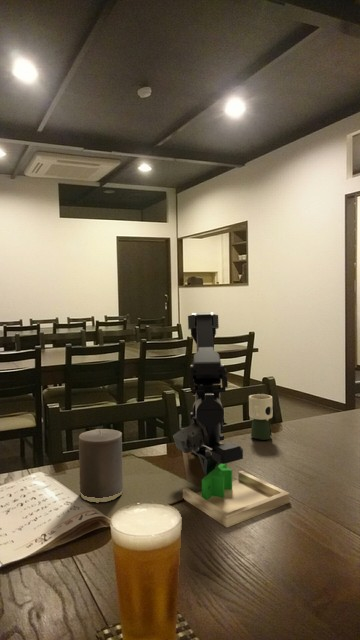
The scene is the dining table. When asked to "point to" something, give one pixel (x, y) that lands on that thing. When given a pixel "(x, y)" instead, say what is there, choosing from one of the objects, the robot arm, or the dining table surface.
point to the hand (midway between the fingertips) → (208, 479)
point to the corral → (240, 500)
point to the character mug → (260, 415)
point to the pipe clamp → (217, 482)
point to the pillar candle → (100, 463)
